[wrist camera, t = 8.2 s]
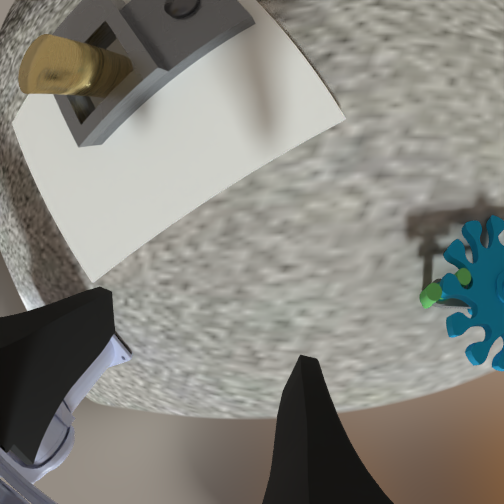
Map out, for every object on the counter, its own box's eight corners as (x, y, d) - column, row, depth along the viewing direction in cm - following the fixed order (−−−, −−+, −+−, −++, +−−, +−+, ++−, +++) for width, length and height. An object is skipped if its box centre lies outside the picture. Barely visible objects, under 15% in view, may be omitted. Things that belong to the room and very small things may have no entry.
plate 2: (101, 144, 16) (86, 146, 15) (68, 79, 15) (53, 77, 13) (255, 23, 12) (250, 12, 10) (198, -35, 10) (189, -46, 9)
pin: (107, 107, 15) (26, 106, 9) (90, 77, 14) (14, 69, 8) (140, 75, 14) (60, 56, 8) (121, 46, 13) (46, 23, 7)
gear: (545, 220, 11) (558, 363, 8) (511, 253, 16) (514, 370, 13) (424, 199, 15) (423, 373, 11) (405, 242, 20) (396, 373, 16)
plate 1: (101, 144, 16) (78, 147, 14) (58, 57, 14) (37, 54, 12) (177, 75, 14) (157, 67, 12) (118, -6, 12) (99, -16, 9)
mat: (99, 278, 22) (92, 283, 21) (19, 122, 18) (12, 123, 17) (343, 120, 14) (346, 119, 13) (192, -54, 10) (187, -60, 9)
